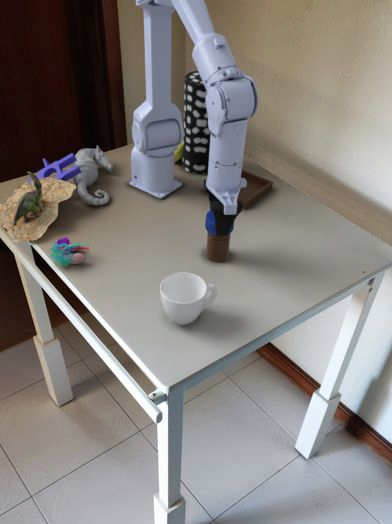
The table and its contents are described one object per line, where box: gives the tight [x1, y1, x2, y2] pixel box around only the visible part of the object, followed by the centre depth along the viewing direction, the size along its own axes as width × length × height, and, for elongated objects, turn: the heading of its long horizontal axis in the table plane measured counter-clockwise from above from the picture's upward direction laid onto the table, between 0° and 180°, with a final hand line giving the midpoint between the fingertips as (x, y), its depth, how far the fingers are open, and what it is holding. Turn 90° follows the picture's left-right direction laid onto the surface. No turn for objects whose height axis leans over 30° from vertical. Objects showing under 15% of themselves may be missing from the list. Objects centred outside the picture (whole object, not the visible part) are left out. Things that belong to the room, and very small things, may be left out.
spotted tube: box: [182, 70, 211, 175], centre depth 114 cm, size 8×8×20 cm
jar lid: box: [204, 209, 236, 236], centre depth 92 cm, size 5×5×3 cm
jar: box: [205, 232, 231, 263], centre depth 95 cm, size 4×4×7 cm
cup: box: [159, 271, 218, 326], centre depth 84 cm, size 8×10×7 cm
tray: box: [205, 168, 274, 210], centre depth 114 cm, size 11×11×2 cm
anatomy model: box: [49, 237, 90, 267], centre depth 93 cm, size 5×8×7 cm
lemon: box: [174, 140, 183, 163], centre depth 122 cm, size 4×8×4 cm
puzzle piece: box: [26, 152, 81, 182], centre depth 108 cm, size 10×12×2 cm
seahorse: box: [64, 145, 114, 206], centre depth 112 cm, size 5×12×20 cm
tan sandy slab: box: [0, 171, 77, 243], centre depth 100 cm, size 18×14×8 cm
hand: (219, 226), depth 93 cm, fingers closed on jar lid, 5 cm apart
